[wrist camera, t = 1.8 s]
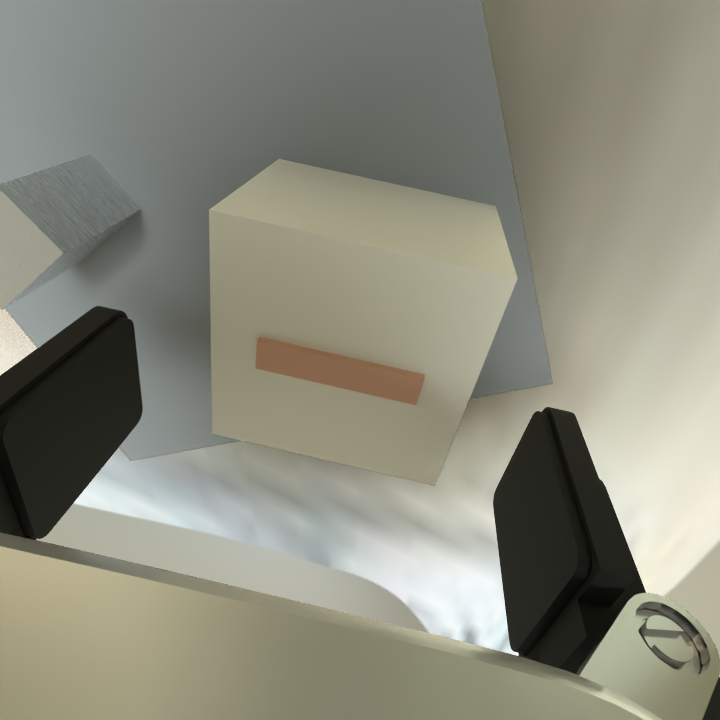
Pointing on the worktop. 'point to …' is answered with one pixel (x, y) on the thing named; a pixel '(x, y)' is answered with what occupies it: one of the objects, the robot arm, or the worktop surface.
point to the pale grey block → (56, 222)
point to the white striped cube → (351, 316)
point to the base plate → (246, 154)
